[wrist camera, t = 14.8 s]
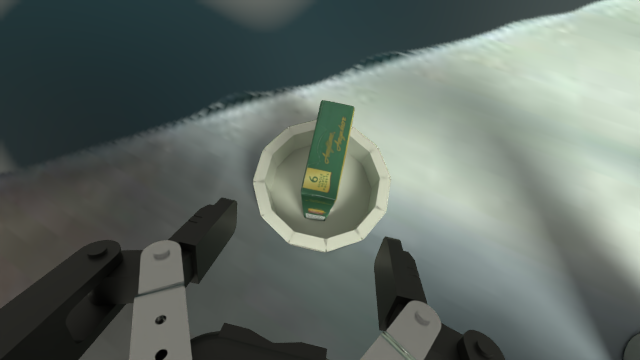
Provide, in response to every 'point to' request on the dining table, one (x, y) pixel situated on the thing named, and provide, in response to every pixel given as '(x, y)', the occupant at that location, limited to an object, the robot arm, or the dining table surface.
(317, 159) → the coffee box
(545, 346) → the dining table surface
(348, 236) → the bowl
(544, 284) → the dining table surface
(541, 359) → the dining table surface
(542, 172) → the dining table surface
